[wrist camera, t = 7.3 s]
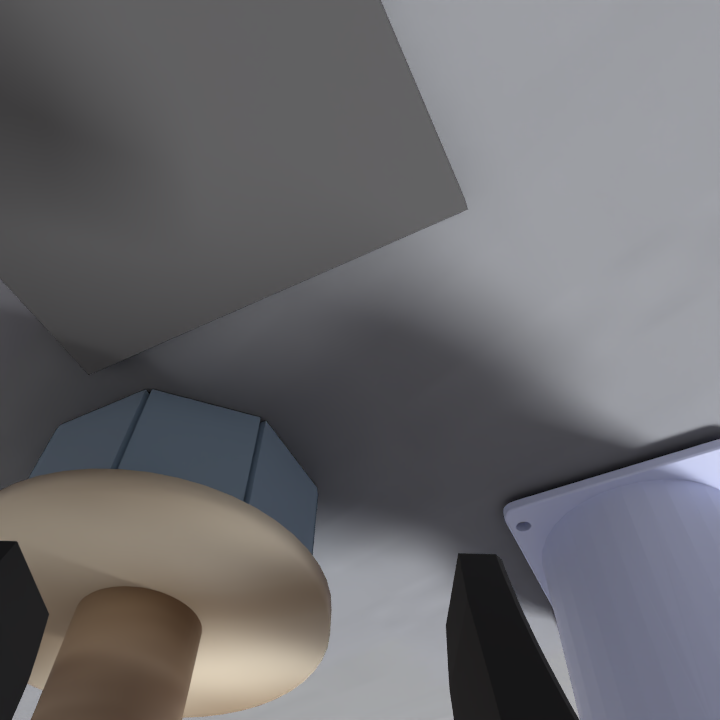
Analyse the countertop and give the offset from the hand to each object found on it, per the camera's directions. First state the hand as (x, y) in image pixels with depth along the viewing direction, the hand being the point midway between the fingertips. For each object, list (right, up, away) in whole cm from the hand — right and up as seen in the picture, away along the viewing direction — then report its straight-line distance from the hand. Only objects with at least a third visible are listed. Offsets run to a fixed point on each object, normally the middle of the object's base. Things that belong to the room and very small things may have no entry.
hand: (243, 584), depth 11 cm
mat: (-3, +10, +4) cm, 12 cm away
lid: (-4, -3, +9) cm, 10 cm away
